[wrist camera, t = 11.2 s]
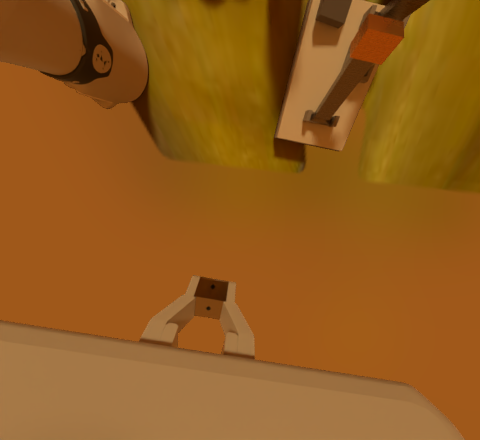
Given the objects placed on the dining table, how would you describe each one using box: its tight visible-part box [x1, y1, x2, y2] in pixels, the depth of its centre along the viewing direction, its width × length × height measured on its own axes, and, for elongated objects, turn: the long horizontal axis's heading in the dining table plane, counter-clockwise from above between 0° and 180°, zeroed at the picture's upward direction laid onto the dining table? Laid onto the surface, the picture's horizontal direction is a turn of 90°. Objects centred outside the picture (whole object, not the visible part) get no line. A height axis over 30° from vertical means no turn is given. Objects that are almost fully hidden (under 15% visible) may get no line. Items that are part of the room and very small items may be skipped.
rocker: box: [315, 0, 352, 28], centre depth 27 cm, size 4×3×2 cm
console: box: [274, 0, 411, 151], centre depth 33 cm, size 15×22×6 cm
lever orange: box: [308, 13, 404, 126], centre depth 28 cm, size 4×2×15 cm
